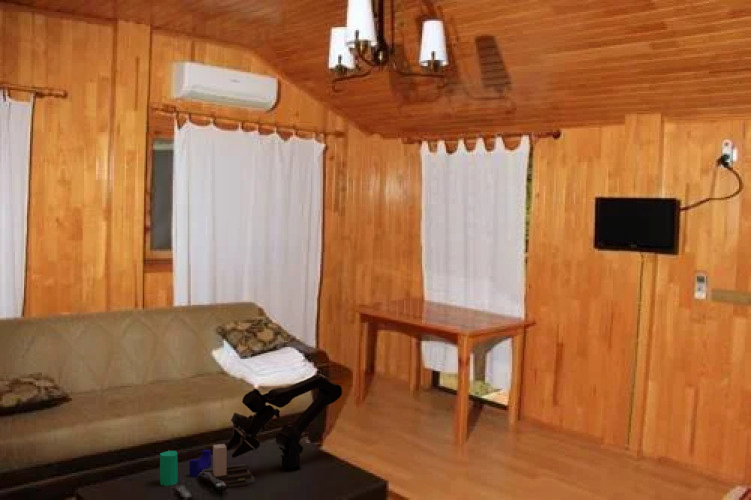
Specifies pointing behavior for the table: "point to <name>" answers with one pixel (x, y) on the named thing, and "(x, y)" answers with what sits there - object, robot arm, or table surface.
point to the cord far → (228, 468)
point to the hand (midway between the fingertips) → (229, 452)
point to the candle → (168, 468)
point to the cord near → (238, 484)
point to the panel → (237, 476)
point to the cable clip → (200, 463)
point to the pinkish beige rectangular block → (219, 461)
